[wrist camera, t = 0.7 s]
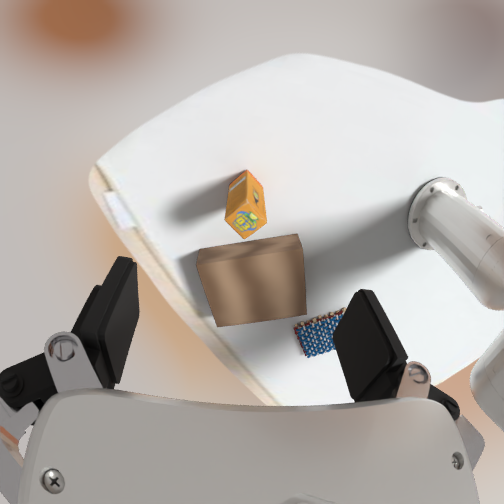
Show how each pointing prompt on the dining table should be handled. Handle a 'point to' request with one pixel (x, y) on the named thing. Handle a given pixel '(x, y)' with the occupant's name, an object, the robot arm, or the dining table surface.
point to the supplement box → (245, 205)
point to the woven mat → (318, 333)
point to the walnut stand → (254, 280)
